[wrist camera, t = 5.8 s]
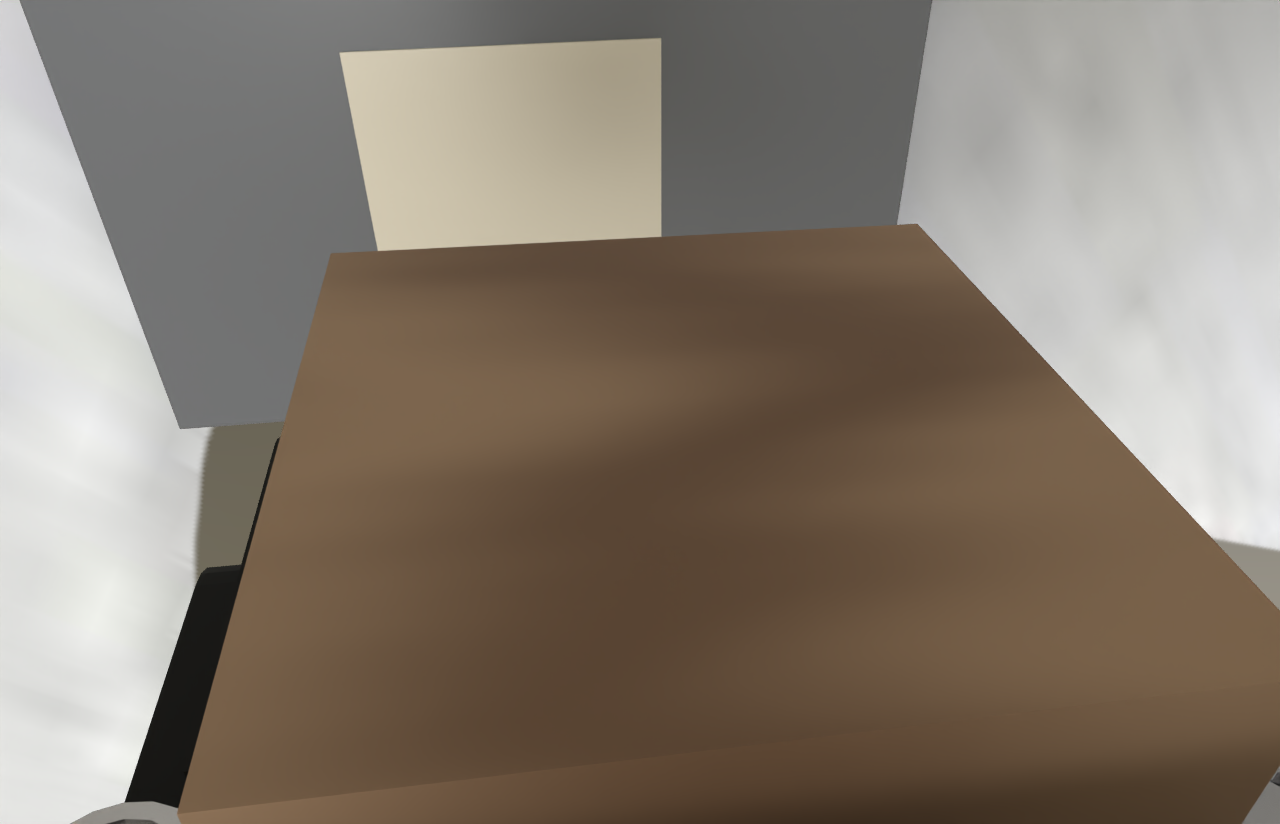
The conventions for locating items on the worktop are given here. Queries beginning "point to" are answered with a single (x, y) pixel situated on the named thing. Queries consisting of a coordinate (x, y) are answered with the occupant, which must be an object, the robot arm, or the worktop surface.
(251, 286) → the build plate
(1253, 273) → the worktop surface
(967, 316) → the walnut block
